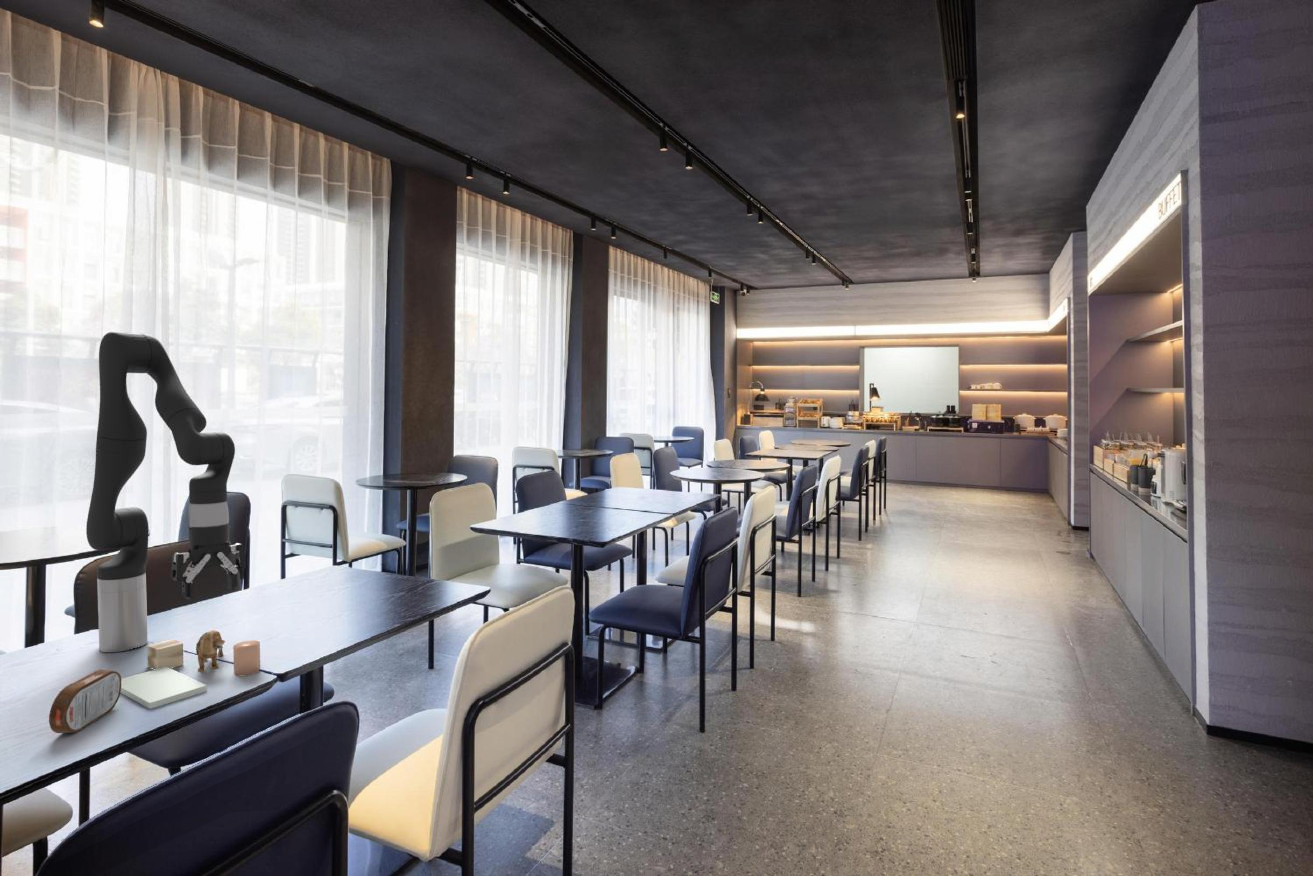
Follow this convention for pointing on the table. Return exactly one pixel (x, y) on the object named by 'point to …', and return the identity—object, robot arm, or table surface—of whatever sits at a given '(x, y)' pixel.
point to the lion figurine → (209, 648)
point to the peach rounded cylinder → (246, 657)
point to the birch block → (165, 654)
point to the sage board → (160, 687)
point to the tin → (85, 701)
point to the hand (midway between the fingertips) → (210, 594)
